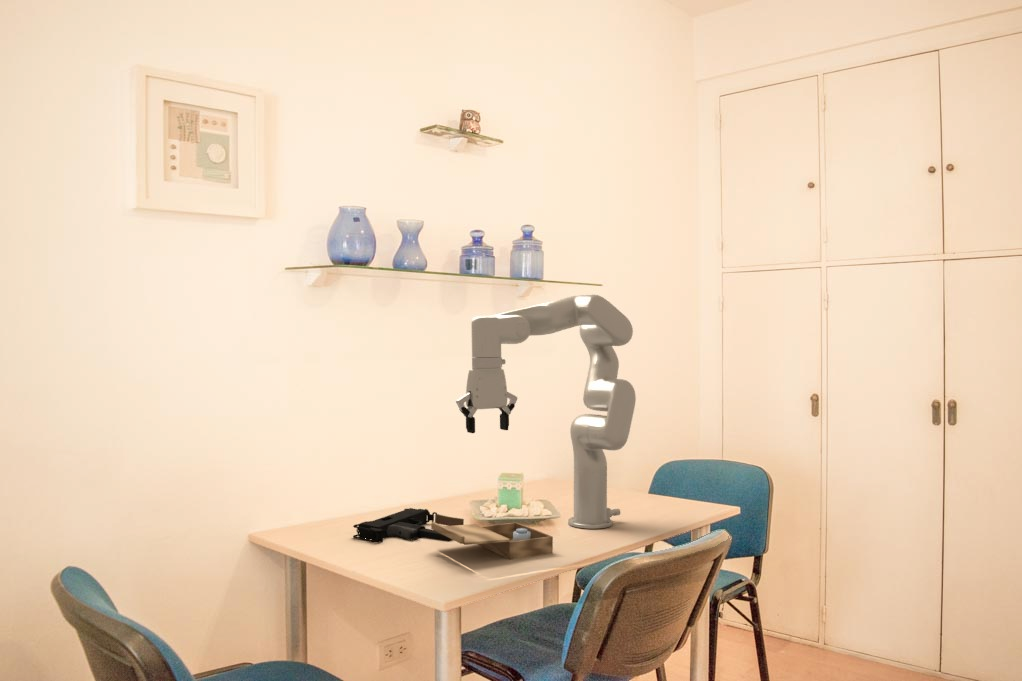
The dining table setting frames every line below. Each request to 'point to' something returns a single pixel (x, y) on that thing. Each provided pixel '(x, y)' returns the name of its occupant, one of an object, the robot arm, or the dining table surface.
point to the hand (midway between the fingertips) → (487, 431)
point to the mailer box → (519, 542)
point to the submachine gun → (405, 526)
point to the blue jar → (521, 534)
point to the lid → (469, 534)
